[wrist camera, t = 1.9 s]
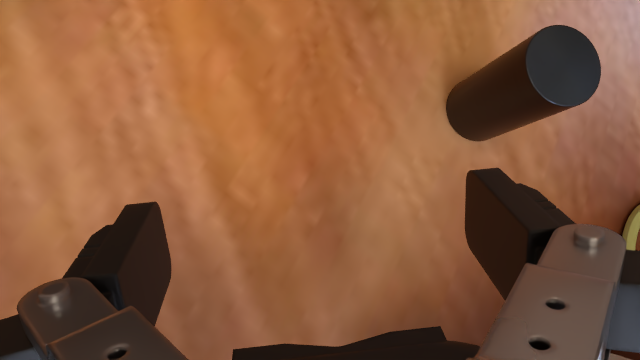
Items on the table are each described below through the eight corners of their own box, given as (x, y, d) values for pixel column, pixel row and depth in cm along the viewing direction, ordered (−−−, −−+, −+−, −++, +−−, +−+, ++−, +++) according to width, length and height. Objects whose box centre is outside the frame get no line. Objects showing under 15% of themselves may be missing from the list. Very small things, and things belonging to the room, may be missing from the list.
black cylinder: (437, 126, 40) (515, 85, 30) (457, 69, 41) (540, 10, 31) (493, 151, 41) (588, 120, 30) (512, 94, 42) (610, 45, 31)
